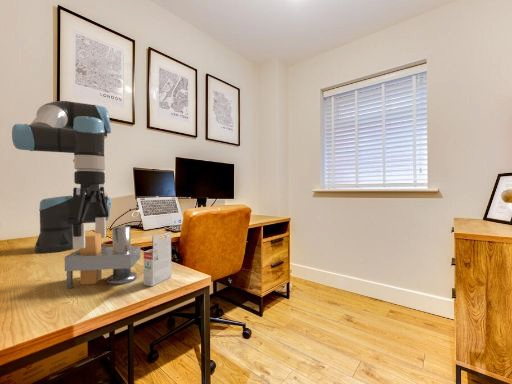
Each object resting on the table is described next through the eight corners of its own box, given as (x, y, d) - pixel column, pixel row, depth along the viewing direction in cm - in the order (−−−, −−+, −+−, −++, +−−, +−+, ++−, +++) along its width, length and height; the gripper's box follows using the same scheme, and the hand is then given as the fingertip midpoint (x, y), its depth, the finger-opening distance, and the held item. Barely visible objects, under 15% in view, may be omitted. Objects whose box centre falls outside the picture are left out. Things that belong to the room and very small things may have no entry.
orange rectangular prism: (87, 279, 77) (86, 233, 77) (101, 278, 78) (101, 233, 77) (80, 284, 73) (79, 236, 73) (95, 283, 74) (95, 236, 73)
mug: (121, 259, 97) (121, 242, 97) (100, 262, 93) (100, 244, 93) (116, 252, 107) (116, 237, 107) (97, 255, 103) (97, 239, 103)
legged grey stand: (140, 273, 83) (140, 224, 82) (130, 285, 73) (130, 230, 72) (83, 276, 80) (82, 225, 79) (65, 289, 70) (64, 231, 69)
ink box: (142, 285, 73) (142, 235, 72) (162, 275, 80) (162, 230, 80) (152, 287, 72) (152, 236, 71) (171, 277, 79) (171, 231, 78)
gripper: (95, 172, 86) (95, 234, 87) (48, 168, 61) (50, 254, 62) (118, 172, 87) (119, 233, 88) (82, 168, 63) (84, 253, 63)
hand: (90, 242), depth 75 cm, fingers open, 13 cm apart
